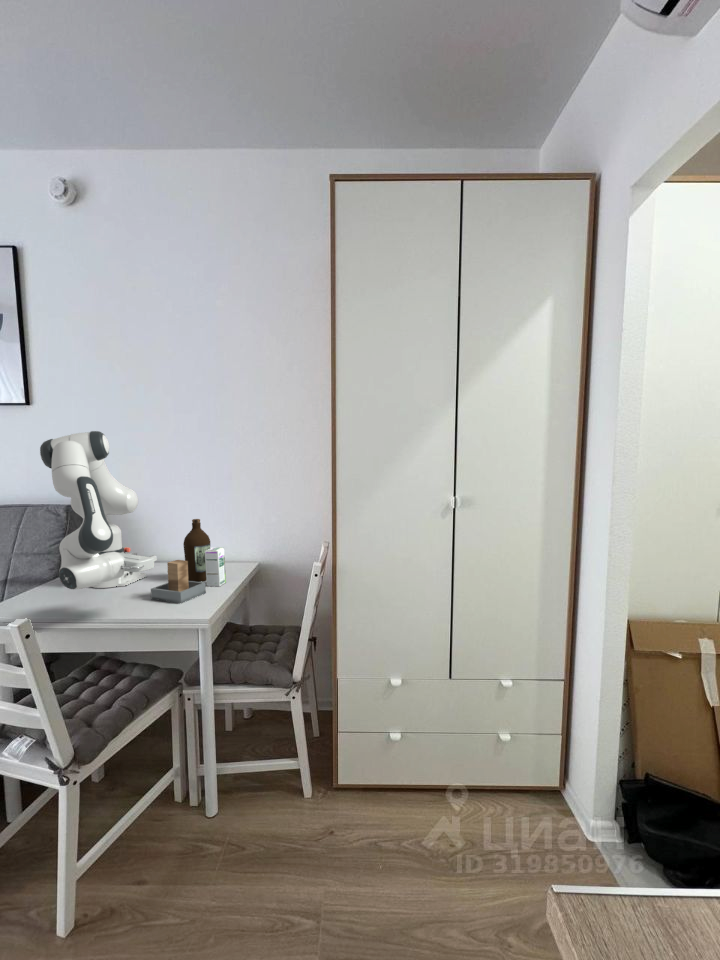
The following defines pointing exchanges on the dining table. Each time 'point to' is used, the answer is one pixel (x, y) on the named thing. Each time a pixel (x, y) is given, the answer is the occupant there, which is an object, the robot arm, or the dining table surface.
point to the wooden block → (178, 575)
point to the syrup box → (215, 567)
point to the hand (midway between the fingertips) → (145, 556)
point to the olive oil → (196, 552)
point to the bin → (175, 596)
